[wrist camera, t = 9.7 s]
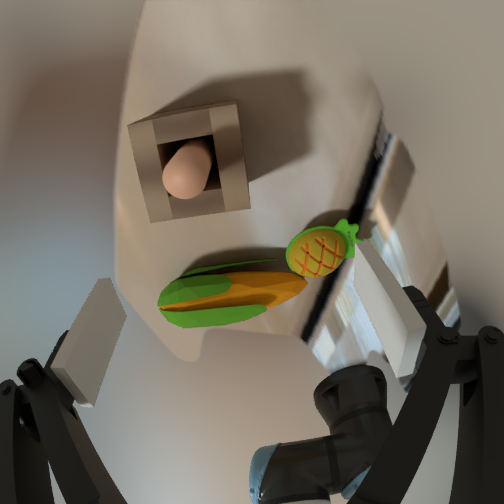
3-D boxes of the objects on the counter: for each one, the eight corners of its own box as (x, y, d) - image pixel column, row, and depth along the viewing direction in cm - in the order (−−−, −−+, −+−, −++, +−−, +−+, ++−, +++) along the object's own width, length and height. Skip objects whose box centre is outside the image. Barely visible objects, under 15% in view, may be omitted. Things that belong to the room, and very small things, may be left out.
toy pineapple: (275, 232, 41) (279, 254, 36) (346, 201, 39) (360, 219, 35) (294, 272, 44) (301, 296, 40) (361, 244, 42) (374, 265, 38)
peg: (218, 160, 36) (210, 195, 26) (187, 165, 36) (167, 202, 26) (213, 130, 34) (202, 152, 24) (182, 136, 34) (158, 160, 24)
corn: (142, 305, 37) (311, 276, 35) (153, 267, 43) (299, 239, 42) (164, 344, 41) (315, 321, 39) (171, 305, 47) (304, 282, 46)
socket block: (248, 182, 38) (250, 208, 31) (166, 195, 38) (150, 223, 31) (236, 99, 32) (236, 104, 26) (149, 115, 33) (127, 125, 26)
